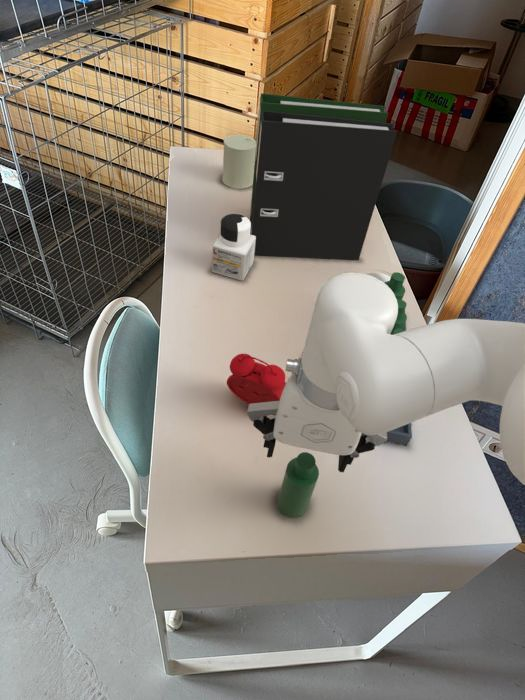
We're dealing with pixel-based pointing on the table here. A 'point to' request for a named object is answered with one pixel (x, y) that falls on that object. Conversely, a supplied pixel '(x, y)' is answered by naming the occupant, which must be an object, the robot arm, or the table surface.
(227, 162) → the can
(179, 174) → the table surface
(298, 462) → the loose bottle
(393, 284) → the bottle
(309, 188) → the binder
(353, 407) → the robot arm
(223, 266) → the container
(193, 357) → the table surface
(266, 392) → the alarm clock
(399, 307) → the bottle
